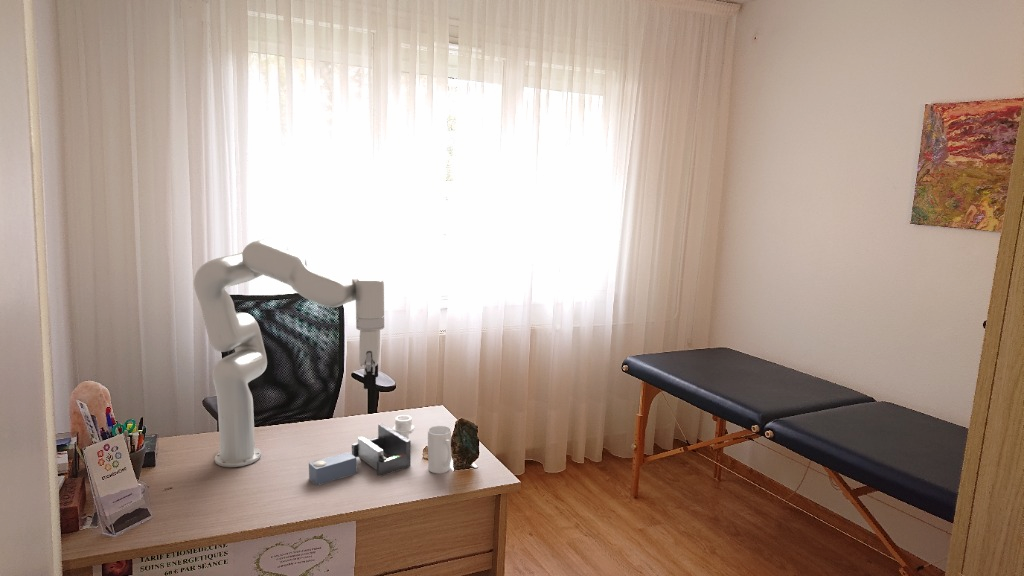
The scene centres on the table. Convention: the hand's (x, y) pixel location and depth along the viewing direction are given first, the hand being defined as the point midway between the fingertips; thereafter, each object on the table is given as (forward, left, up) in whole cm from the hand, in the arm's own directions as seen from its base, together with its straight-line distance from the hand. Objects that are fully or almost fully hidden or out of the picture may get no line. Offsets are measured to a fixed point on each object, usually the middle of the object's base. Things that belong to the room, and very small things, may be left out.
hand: (371, 382), depth 182 cm
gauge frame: (-6, +6, -27) cm, 29 cm away
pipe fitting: (-14, +19, -28) cm, 36 cm away
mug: (+10, +17, -28) cm, 34 cm away
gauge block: (-6, -9, -28) cm, 30 cm away
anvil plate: (-4, +3, -27) cm, 27 cm away
